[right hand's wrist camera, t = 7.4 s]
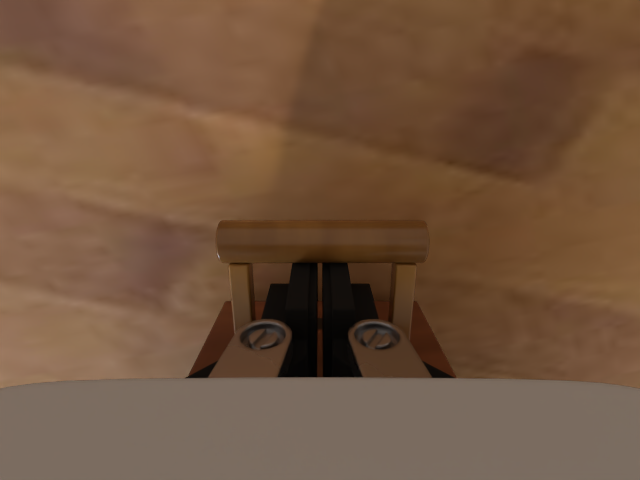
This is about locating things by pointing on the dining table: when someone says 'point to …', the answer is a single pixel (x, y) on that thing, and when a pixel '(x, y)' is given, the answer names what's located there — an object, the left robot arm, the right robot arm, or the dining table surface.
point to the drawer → (323, 247)
